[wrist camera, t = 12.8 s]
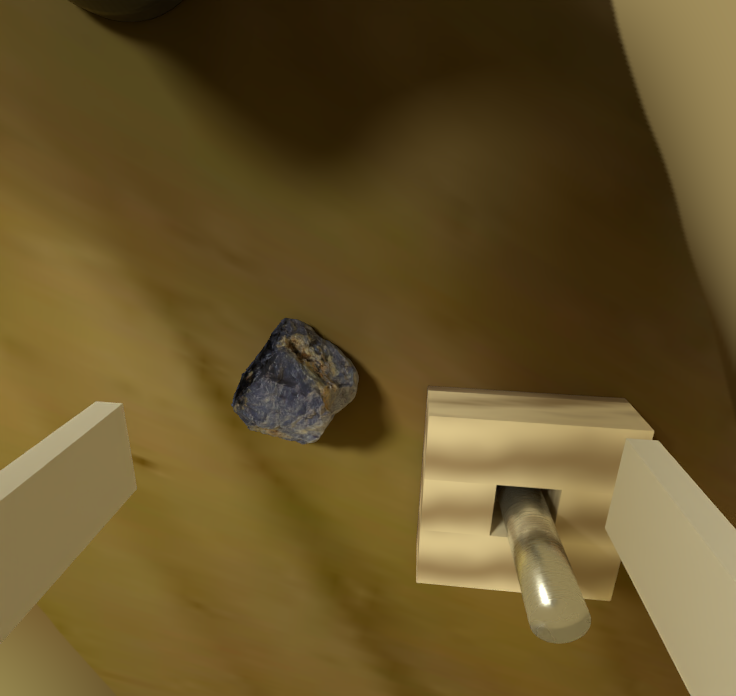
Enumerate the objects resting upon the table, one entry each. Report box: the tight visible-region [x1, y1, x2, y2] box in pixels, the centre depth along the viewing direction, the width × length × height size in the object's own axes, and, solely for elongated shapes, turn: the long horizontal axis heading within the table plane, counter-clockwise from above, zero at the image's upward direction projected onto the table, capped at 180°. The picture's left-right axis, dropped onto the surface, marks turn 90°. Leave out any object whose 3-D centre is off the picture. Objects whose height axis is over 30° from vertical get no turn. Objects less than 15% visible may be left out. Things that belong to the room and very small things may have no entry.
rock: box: [231, 318, 359, 444], centre depth 45 cm, size 11×10×10 cm
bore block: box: [416, 386, 654, 601], centre depth 46 cm, size 18×18×6 cm
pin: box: [496, 485, 591, 643], centre depth 40 cm, size 4×4×16 cm
